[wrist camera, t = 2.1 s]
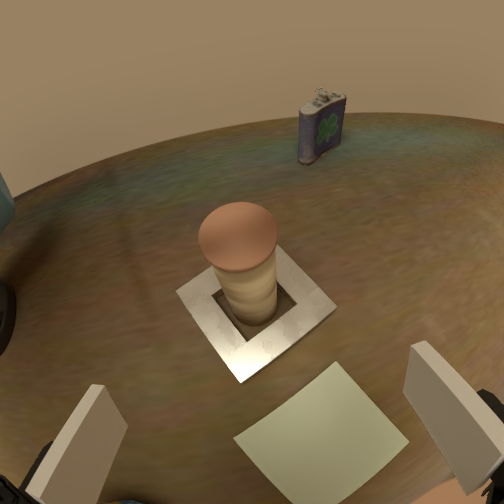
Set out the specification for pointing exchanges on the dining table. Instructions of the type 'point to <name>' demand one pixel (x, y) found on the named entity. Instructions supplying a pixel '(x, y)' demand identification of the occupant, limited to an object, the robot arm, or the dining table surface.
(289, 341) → the socket
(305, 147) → the flask
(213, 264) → the plug
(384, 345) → the dining table surface
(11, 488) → the robot arm
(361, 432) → the mat
